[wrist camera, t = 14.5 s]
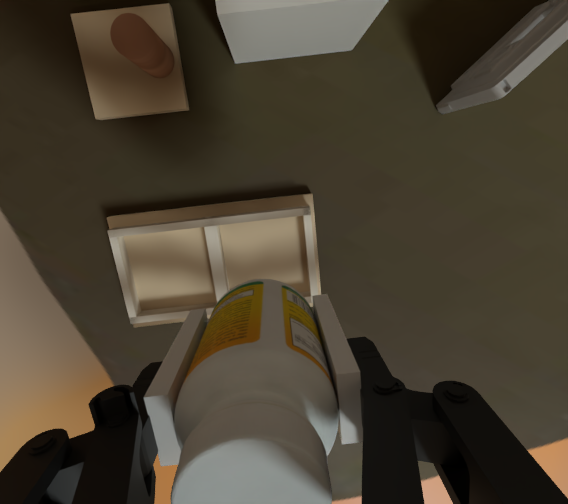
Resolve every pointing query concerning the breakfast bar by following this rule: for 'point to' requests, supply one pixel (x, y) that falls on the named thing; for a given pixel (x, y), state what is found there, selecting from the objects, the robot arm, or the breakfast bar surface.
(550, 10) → the cassette
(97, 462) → the robot arm
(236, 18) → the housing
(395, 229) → the breakfast bar surface
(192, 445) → the supplement bottle
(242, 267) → the beige divided tray
